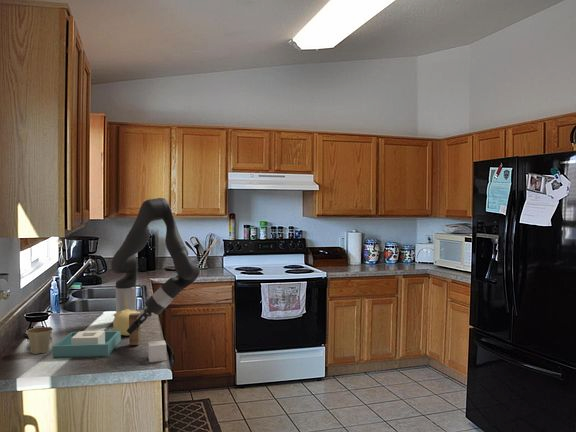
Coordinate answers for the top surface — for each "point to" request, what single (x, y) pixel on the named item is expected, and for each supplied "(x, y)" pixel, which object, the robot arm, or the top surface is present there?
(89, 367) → the top surface
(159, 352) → the light grey cube
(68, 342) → the socket box
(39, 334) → the flower pot
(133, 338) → the peg
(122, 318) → the sculpture
